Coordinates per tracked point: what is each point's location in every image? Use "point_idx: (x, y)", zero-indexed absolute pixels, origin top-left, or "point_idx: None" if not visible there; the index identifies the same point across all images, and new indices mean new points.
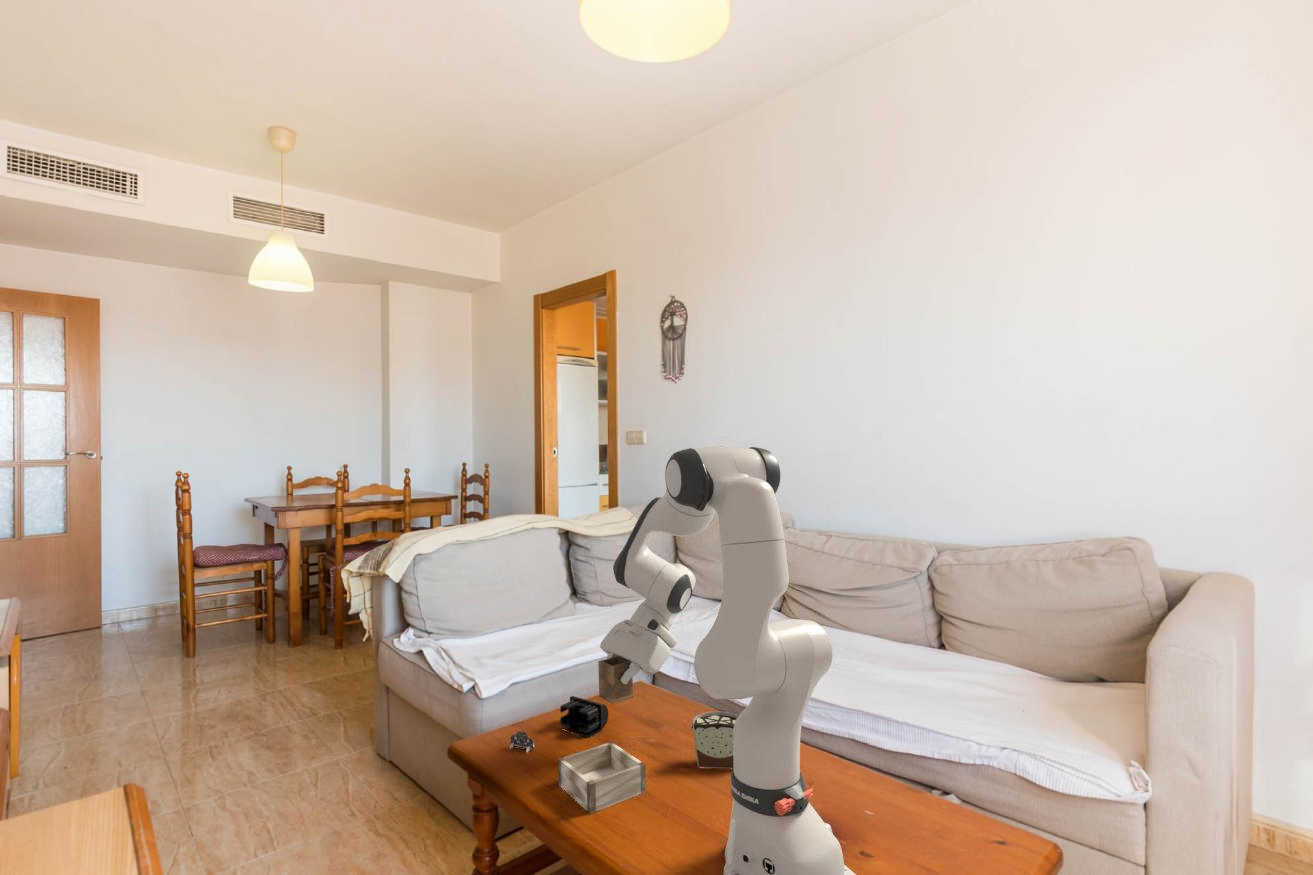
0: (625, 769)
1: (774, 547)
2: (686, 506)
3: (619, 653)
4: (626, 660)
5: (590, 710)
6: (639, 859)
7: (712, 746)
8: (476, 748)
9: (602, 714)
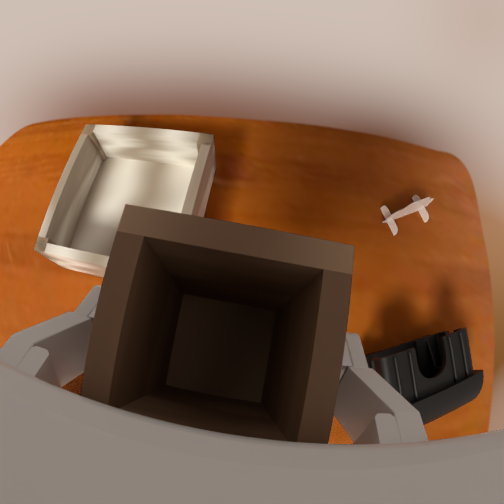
0: (56, 203)
1: None
2: None
3: (246, 449)
4: None
5: (390, 374)
6: (5, 148)
7: None
8: (445, 168)
9: None
